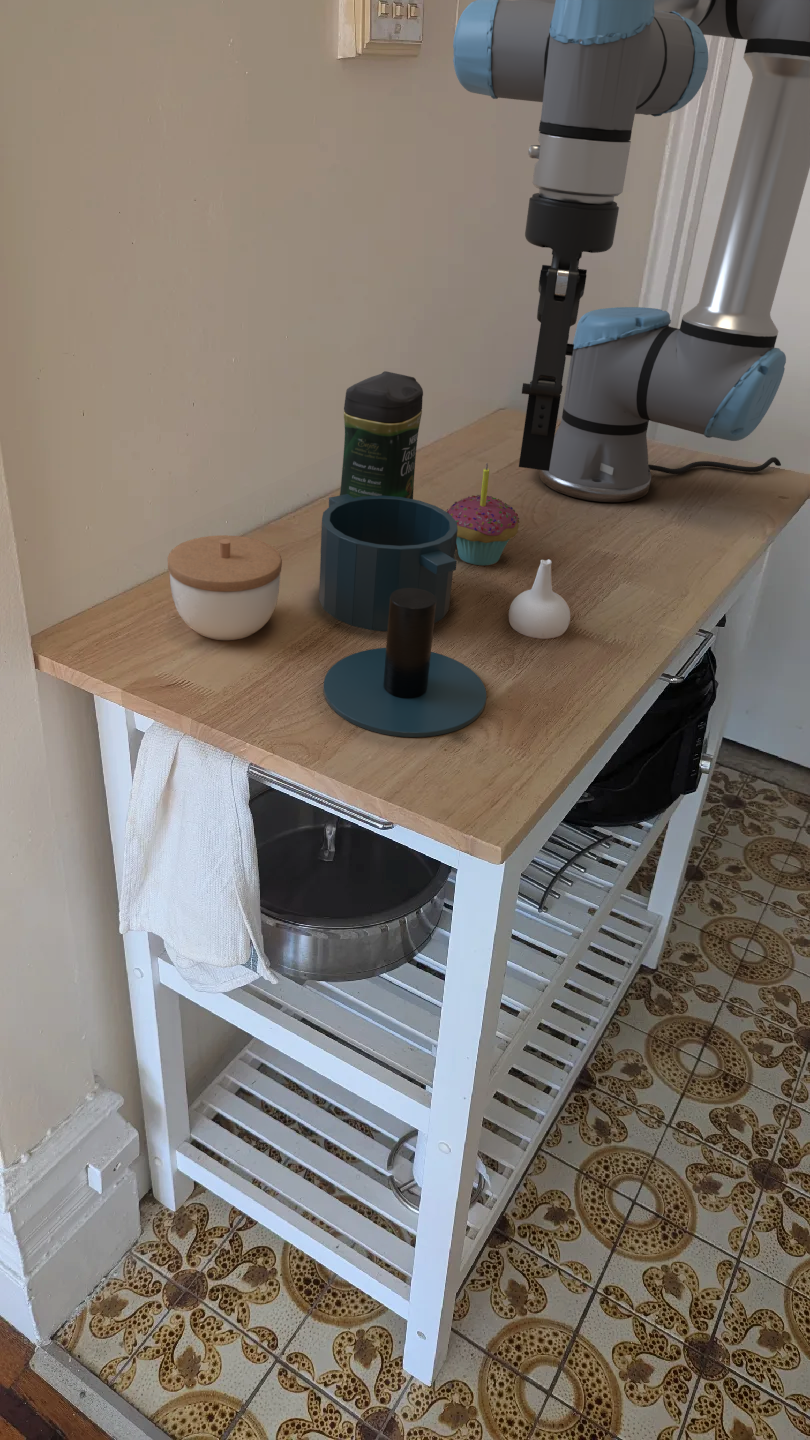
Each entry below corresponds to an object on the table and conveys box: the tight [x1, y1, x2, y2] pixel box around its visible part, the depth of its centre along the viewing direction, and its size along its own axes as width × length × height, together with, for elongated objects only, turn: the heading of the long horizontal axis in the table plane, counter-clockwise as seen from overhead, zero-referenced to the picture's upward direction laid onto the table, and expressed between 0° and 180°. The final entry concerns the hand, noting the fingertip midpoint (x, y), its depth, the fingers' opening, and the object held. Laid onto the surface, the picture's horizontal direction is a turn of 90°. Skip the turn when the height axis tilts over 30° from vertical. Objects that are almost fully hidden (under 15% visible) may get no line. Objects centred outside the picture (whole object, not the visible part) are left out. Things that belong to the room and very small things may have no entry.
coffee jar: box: [339, 371, 424, 499], centre depth 123 cm, size 10×8×19 cm
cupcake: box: [446, 462, 520, 566], centre depth 121 cm, size 9×8×12 cm
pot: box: [318, 494, 458, 632], centre depth 109 cm, size 14×19×10 cm
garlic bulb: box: [508, 558, 571, 640], centre depth 108 cm, size 6×6×8 cm
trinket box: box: [167, 534, 283, 641], centre depth 102 cm, size 11×11×9 cm
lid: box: [322, 588, 487, 738], centre depth 94 cm, size 15×15×10 cm
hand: (538, 444), depth 100 cm, fingers open, 13 cm apart
